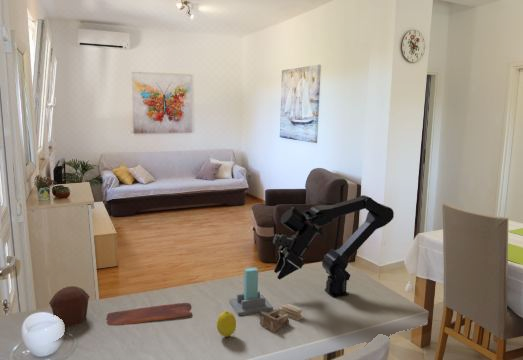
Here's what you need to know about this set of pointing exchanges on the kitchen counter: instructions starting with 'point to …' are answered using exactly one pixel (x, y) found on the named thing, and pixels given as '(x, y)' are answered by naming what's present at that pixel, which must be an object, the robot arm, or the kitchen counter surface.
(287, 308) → the offcut stack
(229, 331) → the lemon
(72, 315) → the muffin
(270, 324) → the stand
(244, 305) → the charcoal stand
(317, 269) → the kitchen counter surface
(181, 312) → the wooden tablet
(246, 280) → the teal rectangular block
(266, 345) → the kitchen counter surface
